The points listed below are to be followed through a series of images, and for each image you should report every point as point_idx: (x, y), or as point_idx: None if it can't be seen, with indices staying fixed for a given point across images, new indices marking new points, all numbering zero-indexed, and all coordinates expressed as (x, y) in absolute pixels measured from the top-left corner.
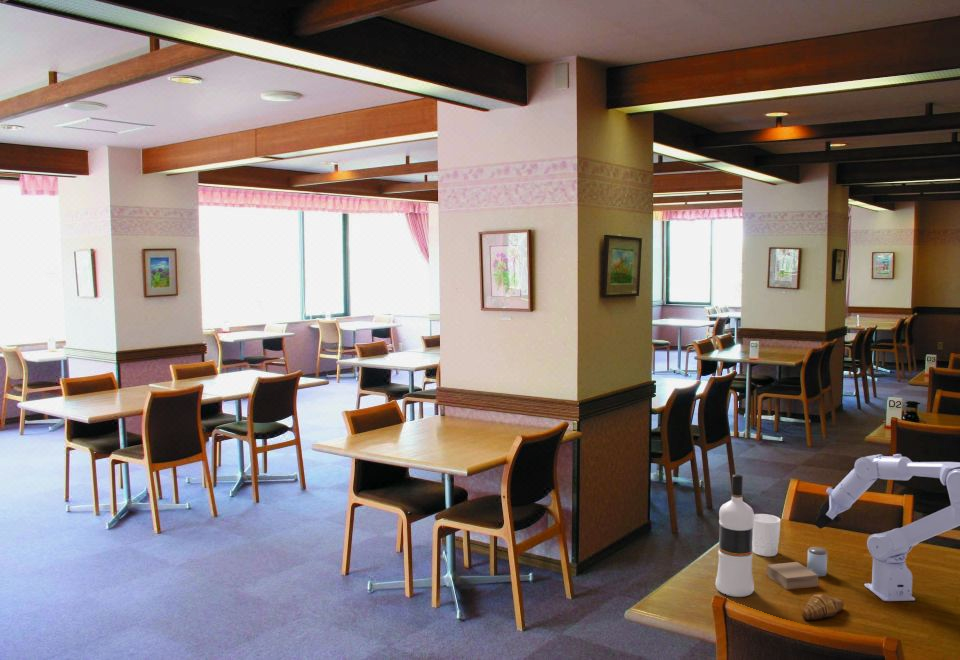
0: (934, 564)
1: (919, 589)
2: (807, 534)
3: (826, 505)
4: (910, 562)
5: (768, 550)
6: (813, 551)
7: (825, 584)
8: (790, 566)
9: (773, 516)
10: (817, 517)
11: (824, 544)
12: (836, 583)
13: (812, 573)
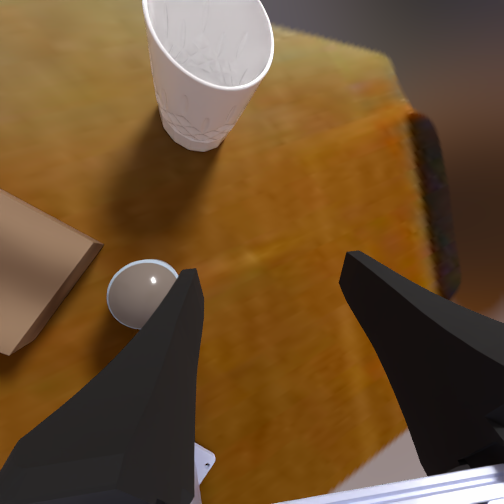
0: (378, 422)
1: (234, 500)
2: (366, 171)
3: (366, 277)
4: (360, 389)
5: (169, 126)
6: (114, 293)
7: (74, 345)
8: (19, 243)
9: (269, 54)
10: (153, 313)
11: (339, 220)
12: (110, 361)
13: (6, 334)
